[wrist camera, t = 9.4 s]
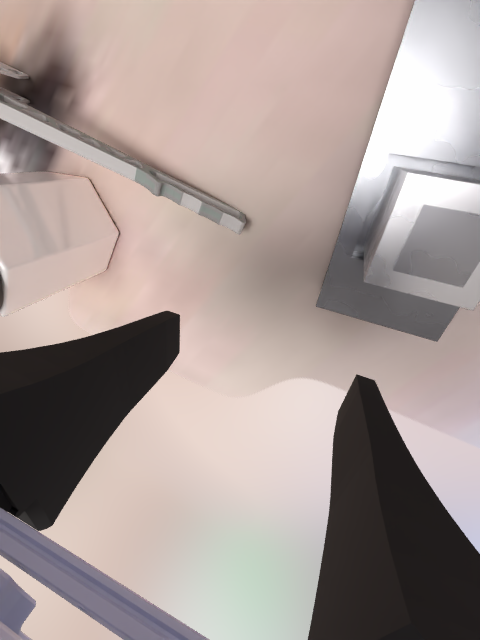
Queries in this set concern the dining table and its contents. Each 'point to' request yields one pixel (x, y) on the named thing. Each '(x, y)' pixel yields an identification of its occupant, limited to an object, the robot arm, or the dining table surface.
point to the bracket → (113, 158)
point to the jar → (49, 236)
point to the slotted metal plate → (413, 155)
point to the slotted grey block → (427, 237)
